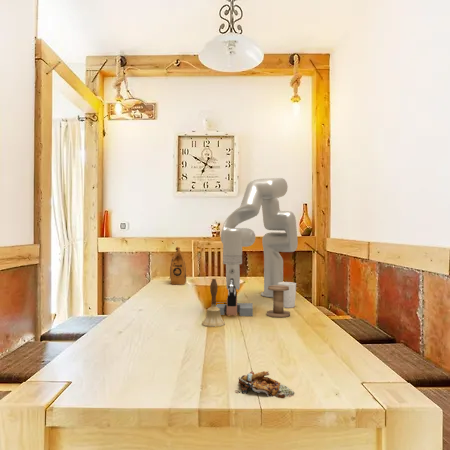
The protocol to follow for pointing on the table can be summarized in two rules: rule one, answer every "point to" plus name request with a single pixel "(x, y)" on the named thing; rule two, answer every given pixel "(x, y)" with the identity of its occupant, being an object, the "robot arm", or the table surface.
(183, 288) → the table surface
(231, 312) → the copper brown square peg
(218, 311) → the hand bell
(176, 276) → the coffee package
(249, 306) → the notch board
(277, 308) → the bobbin
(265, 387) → the brown irregular lump
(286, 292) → the white cup
